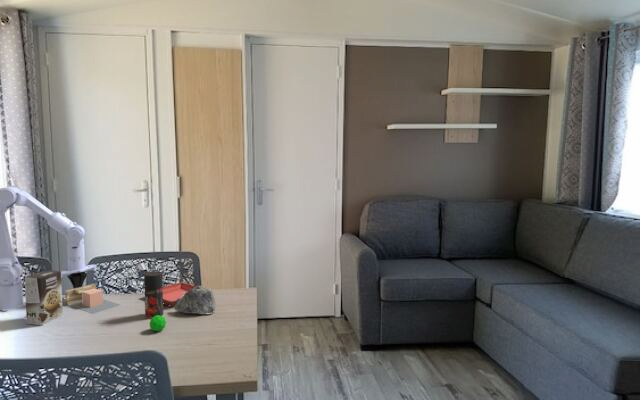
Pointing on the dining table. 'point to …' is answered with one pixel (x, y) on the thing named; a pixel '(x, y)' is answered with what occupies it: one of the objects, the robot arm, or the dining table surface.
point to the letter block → (92, 297)
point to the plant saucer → (175, 292)
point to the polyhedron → (157, 323)
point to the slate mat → (94, 309)
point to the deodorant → (153, 294)
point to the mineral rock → (197, 301)
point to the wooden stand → (77, 294)
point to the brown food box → (43, 297)
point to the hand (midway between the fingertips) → (77, 292)
